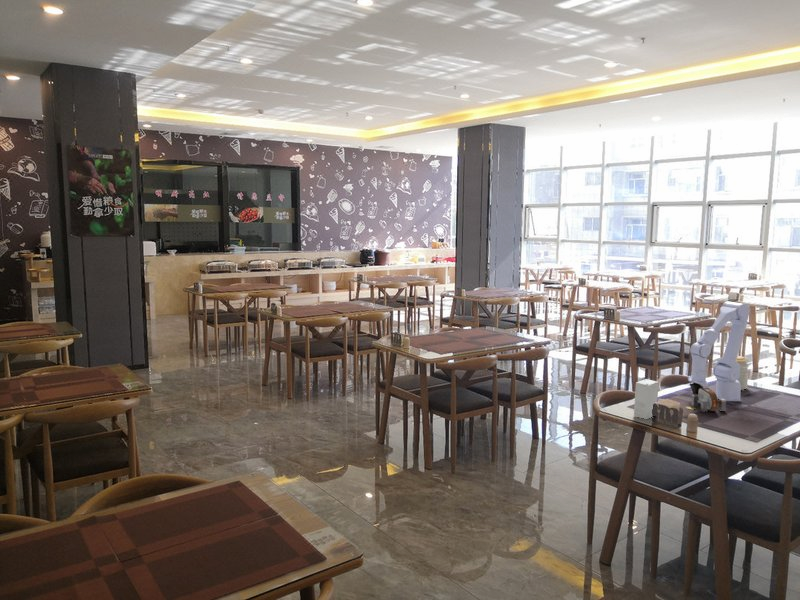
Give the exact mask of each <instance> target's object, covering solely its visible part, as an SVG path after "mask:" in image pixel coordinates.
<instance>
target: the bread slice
mask: <svg viewBox="0 0 800 600" xmlns="http://www.w3.org/2000/svg"><path fill="white" fill-rule="evenodd" d="M701 399H707V400H708V407H707V411H708V410H709V411H708V412H717V410H719V400H718V398H717V395H716V391H713V390H712V389H711V388H710V387H709V388H703V387H701V388H699V390H698V404H699V405H700V406H701Z"/></svg>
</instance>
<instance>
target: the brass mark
mask: <svg viewBox="0 0 800 600" xmlns="http://www.w3.org/2000/svg"><path fill="white" fill-rule="evenodd" d="M686 408H687V409H686ZM685 409H686V410H689V409H691V410H690V411H695V410H694V409H696V410H697V408H696V406H685Z"/></svg>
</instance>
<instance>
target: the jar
mask: <svg viewBox="0 0 800 600" xmlns="http://www.w3.org/2000/svg"><path fill="white" fill-rule="evenodd" d="M722 357H723V356H721V357H720V359H721V358H722ZM736 361H737V362H738V364H739V365H740V375H739V378H738V379H737V380H738V381H739V382H740V384H741V390H742V389H746V388H747V389H748V385H749V384H748V382H749V381H748V380H749V379H748V378H749V373H750V372H749V370H748V368H749V366H750V364H748V359H747V358H745V356H741V355H738V356H737V360H736ZM727 366H730V365H727ZM747 389H746V390H747ZM742 391H743V390H742Z"/></svg>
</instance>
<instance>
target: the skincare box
mask: <svg viewBox="0 0 800 600" xmlns="http://www.w3.org/2000/svg"><path fill="white" fill-rule="evenodd" d="M659 383H660V382H659V381H657V380H652V379H648V378H645V379H643V380H638V381H637V382H635V390H634V403H633V405H634V407H633V417H634V416H636V417H635V418H637V417H640V418H639V419H641V418H644V419H648V418H650V419H652V418H653V417H652V409H653V404H654V403H655V402H657V403H658V399H659V398H658V395H659ZM651 417H652V418H651ZM644 419H643V420H644ZM648 420H649V419H648Z"/></svg>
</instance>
